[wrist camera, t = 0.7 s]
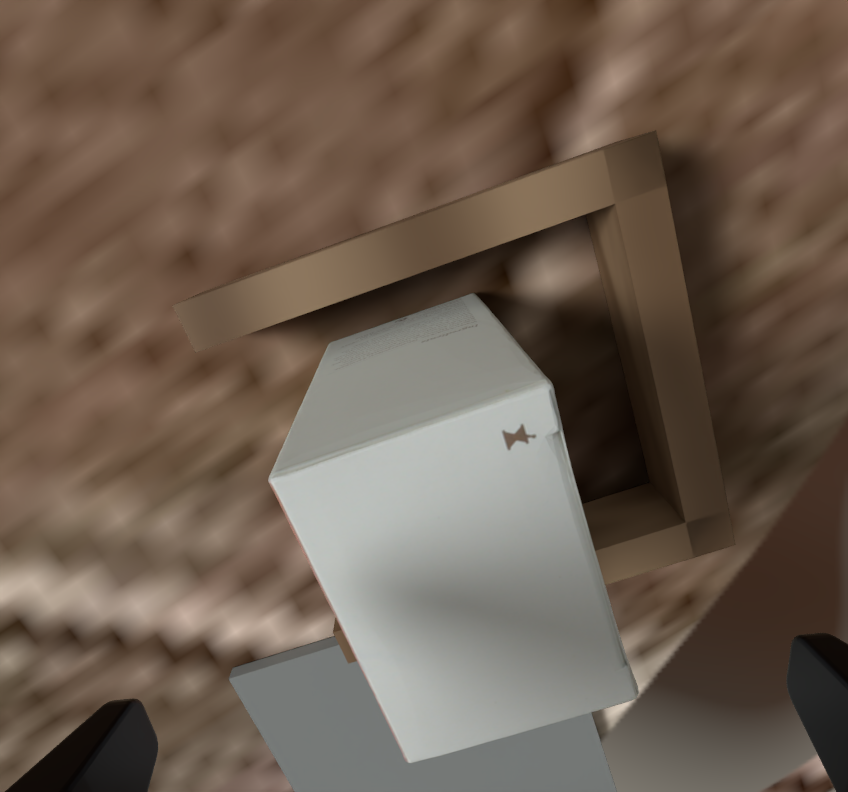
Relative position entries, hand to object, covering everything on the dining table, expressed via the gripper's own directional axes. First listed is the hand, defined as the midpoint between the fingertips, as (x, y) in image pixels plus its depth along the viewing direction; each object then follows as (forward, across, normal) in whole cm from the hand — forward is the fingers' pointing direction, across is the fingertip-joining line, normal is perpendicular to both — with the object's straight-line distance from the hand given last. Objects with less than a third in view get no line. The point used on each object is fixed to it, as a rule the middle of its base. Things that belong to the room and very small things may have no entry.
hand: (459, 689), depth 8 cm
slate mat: (+13, +2, +18) cm, 22 cm away
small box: (+14, 0, +2) cm, 14 cm away
